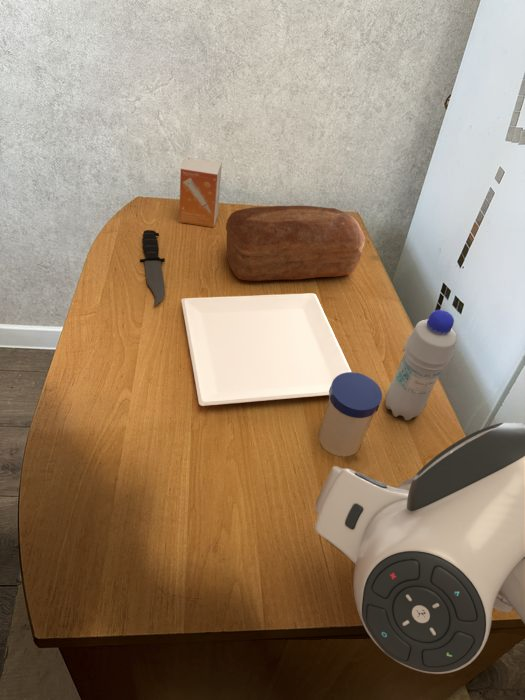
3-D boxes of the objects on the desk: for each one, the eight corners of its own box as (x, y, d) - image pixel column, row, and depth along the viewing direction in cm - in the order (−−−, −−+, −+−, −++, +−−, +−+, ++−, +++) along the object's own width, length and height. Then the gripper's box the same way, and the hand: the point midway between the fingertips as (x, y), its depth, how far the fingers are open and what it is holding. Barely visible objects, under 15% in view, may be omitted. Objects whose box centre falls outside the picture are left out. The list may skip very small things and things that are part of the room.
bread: (218, 250, 114) (222, 198, 105) (339, 245, 121) (351, 196, 113) (232, 289, 104) (237, 235, 96) (362, 281, 112) (377, 230, 103)
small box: (179, 223, 120) (179, 168, 111) (184, 209, 125) (185, 156, 116) (214, 228, 120) (217, 174, 111) (218, 214, 125) (222, 161, 116)
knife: (172, 302, 97) (144, 303, 95) (172, 309, 98) (144, 310, 96) (160, 229, 114) (136, 230, 113) (160, 236, 115) (136, 236, 114)
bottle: (387, 424, 83) (429, 329, 70) (376, 392, 88) (414, 298, 75) (427, 424, 84) (476, 331, 71) (414, 393, 89) (458, 299, 76)
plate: (358, 399, 87) (361, 390, 85) (198, 413, 80) (199, 404, 79) (313, 300, 105) (315, 292, 103) (180, 306, 99) (181, 297, 97)
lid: (375, 382, 77) (378, 374, 76) (382, 420, 72) (385, 412, 70) (327, 377, 76) (329, 369, 75) (330, 415, 71) (333, 407, 70)
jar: (358, 423, 83) (376, 378, 76) (363, 458, 78) (382, 413, 71) (317, 419, 82) (330, 373, 75) (319, 454, 78) (334, 408, 71)
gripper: (556, 580, 43) (521, 541, 56) (327, 459, 48) (345, 450, 62) (521, 651, 43) (494, 595, 56) (298, 521, 48) (321, 499, 62)
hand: (414, 518), depth 59 cm, fingers closed on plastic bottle, 6 cm apart
